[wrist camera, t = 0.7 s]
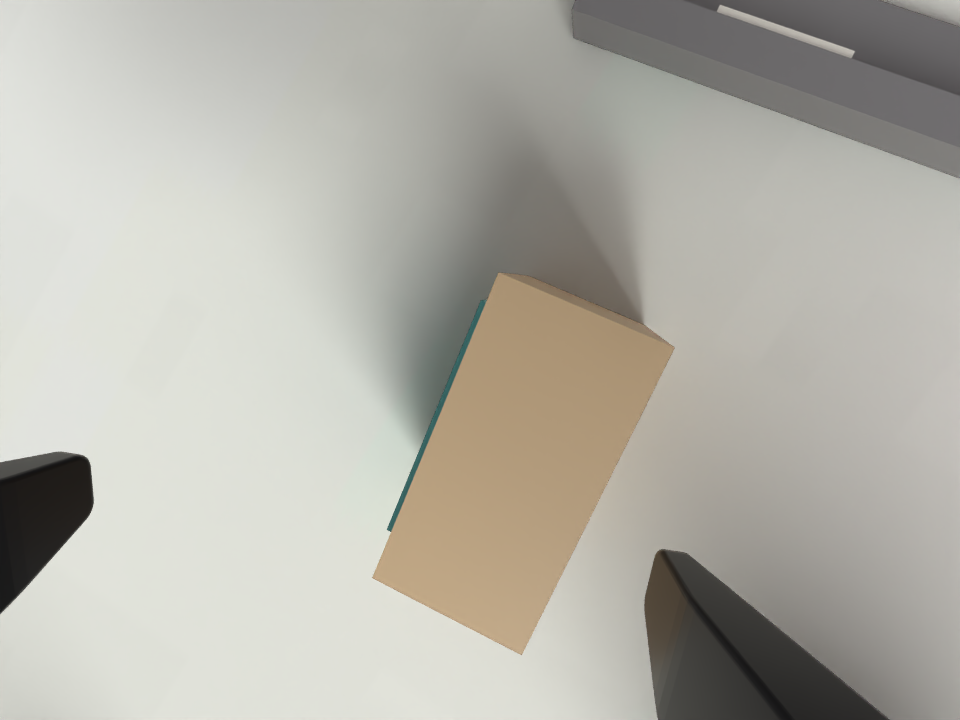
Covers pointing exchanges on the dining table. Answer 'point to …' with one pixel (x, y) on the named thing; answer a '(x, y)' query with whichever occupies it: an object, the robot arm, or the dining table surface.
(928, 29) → the rail
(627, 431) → the carton
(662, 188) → the dining table surface
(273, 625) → the dining table surface
